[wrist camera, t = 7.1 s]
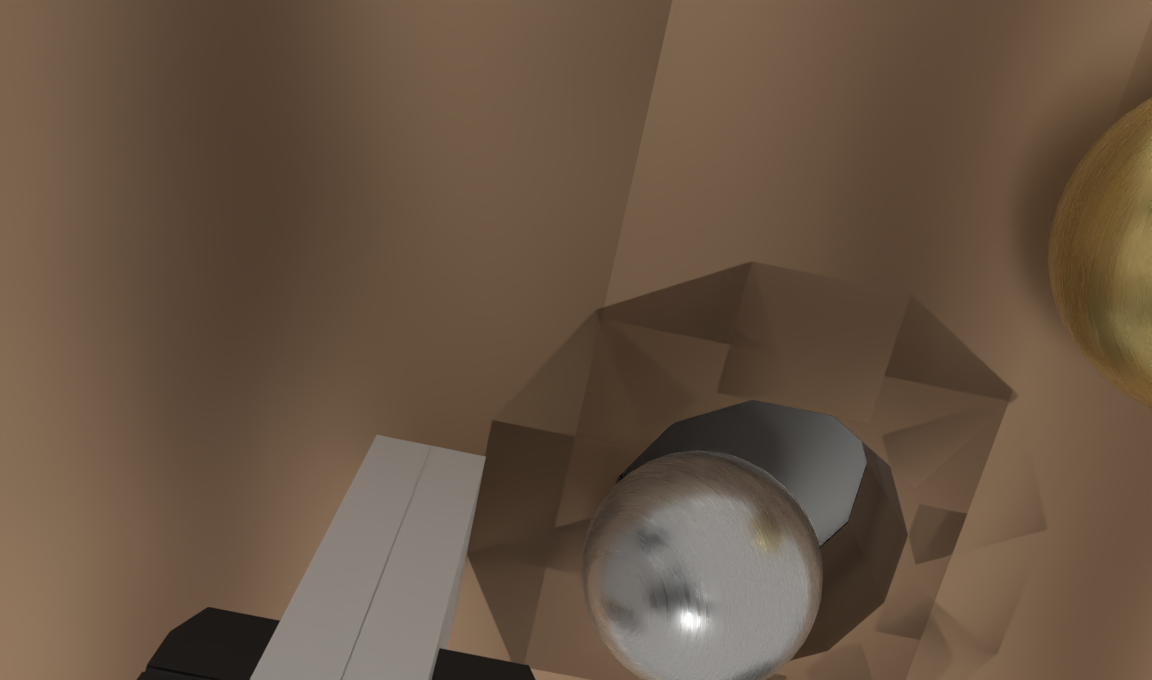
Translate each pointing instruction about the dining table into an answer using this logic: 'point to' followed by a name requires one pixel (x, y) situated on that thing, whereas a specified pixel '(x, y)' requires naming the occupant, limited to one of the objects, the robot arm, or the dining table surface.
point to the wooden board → (558, 307)
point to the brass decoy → (1109, 255)
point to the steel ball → (701, 570)
